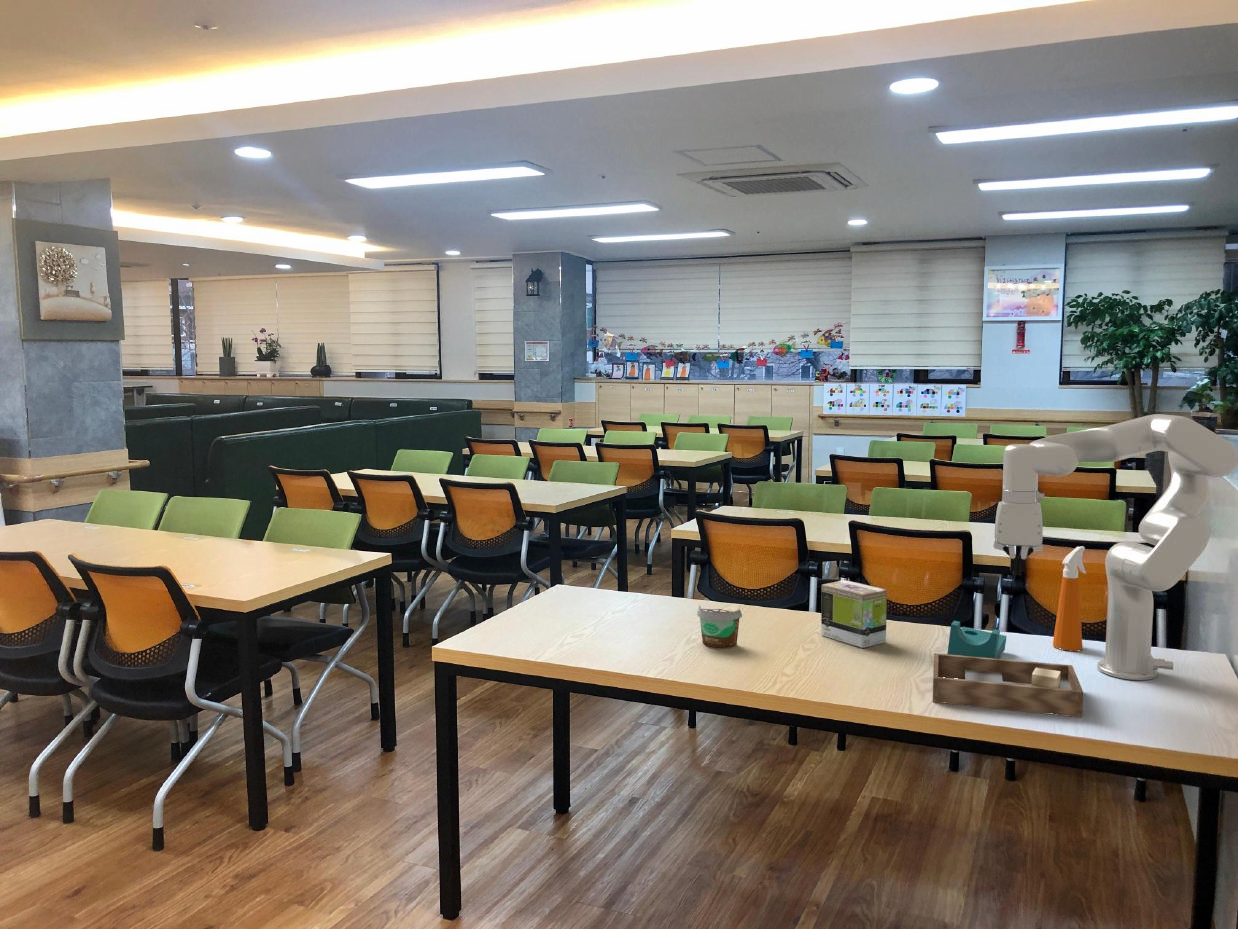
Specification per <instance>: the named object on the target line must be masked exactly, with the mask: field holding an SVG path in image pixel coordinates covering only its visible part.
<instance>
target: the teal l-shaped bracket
mask: <svg viewBox="0 0 1238 929" xmlns="http://www.w3.org/2000/svg"><path fill="white" fill-rule="evenodd" d="M949 631H950V632H949V638H948V646H947V653H946V654H948V655H960V656H971V657H983V658H994V659H1001V657H1002V655H1003V653H1004V652H1005V650H1006V649H1005V648H1006V645H1007V644H1006V643H1007V635H1004V634H1001V630H1000V629H995V628H994V629H993V630H992V631H991V632H990V631H985V630H982V629H981V630H980V629H976V628H972V627H966V626H961V621H957V620H953V621H952V623H951V624H950V628H949Z"/></svg>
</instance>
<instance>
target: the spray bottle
mask: <svg viewBox="0 0 1238 929" xmlns="http://www.w3.org/2000/svg"><path fill="white" fill-rule="evenodd" d="M1085 550H1086V548H1085V546H1083V545H1082V546H1076V547H1075V548H1074V549H1073V550H1072V551H1071V552H1070V553H1068V554H1067V555H1066V556H1065V557H1064V558H1063V561H1062V562H1061V564H1062V565H1064V568H1062V569H1063V570H1062V579H1061V587H1060V592H1059V599H1058V600H1059V601H1058V606H1057V613H1056V619H1055V620H1056V621H1055V627H1054V634H1053V638H1052V639H1053V640H1052V646H1053V647H1054V648H1055V647H1057V648H1061V649H1063V650H1062V651H1064V650H1071V651H1070V652H1078V650H1080V651H1082V650H1083V649H1084V648H1083V633H1082V632H1083V631H1082V618H1081V616H1082V615H1081V598H1080V586H1079V585H1080V584H1079V570H1080V573H1083V574H1085V575H1087V572H1086V569H1085V566H1084V564H1083V563H1084V562H1083V555H1084V554H1083V553H1084V552H1085ZM1057 648H1056V649H1057Z"/></svg>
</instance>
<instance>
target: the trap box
mask: <svg viewBox="0 0 1238 929" xmlns="http://www.w3.org/2000/svg"><path fill="white" fill-rule="evenodd" d="M1035 668H1042V669H1049V670H1055V671H1061V673H1060V689H1059V688H1048V687H1038V686H1032V673H1033V671H1034V670H1035ZM932 671H933V673H932V674H933V677H932V702H933V701H935V702H934V703H938V702H946V703H945V704H948V703H952V704H951V705H957V704H960V706H967V705H970V706H969V707H977V708H978V707H979V708H987V709H999V710H1005V711H1007V710H1008V711H1016V712H1025V713H1037V714H1044V713H1053V714H1058V715H1057V716H1063V715H1068V716H1067V717H1072V716H1075V717H1076V718H1083V711H1084V690H1083V687H1082V685H1081V682H1080V680H1079V678H1078V676H1077V673H1076V671H1075V668H1074V667H1073V665H1072V664H1061V663H1050V662H1040V661H1039V662H1037V661H1028V660H1027V661H1026V660H1017V659H1014V660H1013V659H1004V658H999V659H994V658H983V657H971V656H960V655H948V654H947V653H946V654H945V653H936V652H934V653H933V670H932ZM943 677H945V678H943ZM954 678H958V679H954ZM1053 714H1052V715H1053ZM1075 717H1074V718H1075Z"/></svg>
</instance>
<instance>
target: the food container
mask: <svg viewBox="0 0 1238 929" xmlns="http://www.w3.org/2000/svg"><path fill="white" fill-rule="evenodd" d="M696 615H697V617H699V623H700V630H701V642H703V643H702V645H703V644H704V645H705V647H707V648H710V649H717V650H719V649H720V650H721V649H725V650H726V649H731V648H734V647H736V646H737V644H738V636H739V628H740V626H739V625H740V618H742V617H743V614H742V611H741V608H740V609H737V610H735V611H733V610H732V611H731V610H726V609H723V608H722V609H721V608H713V609H710V608H702V607H701V605H699V607H698V609H697V612H696ZM704 645H703V646H704Z"/></svg>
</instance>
